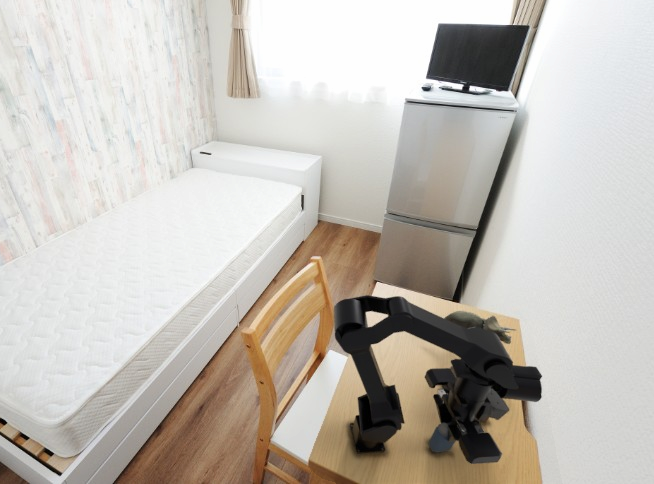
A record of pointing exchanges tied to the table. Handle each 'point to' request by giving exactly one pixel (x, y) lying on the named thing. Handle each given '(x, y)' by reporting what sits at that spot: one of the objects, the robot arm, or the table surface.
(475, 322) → the toy dinosaur
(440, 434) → the vaping device
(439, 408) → the robot arm
